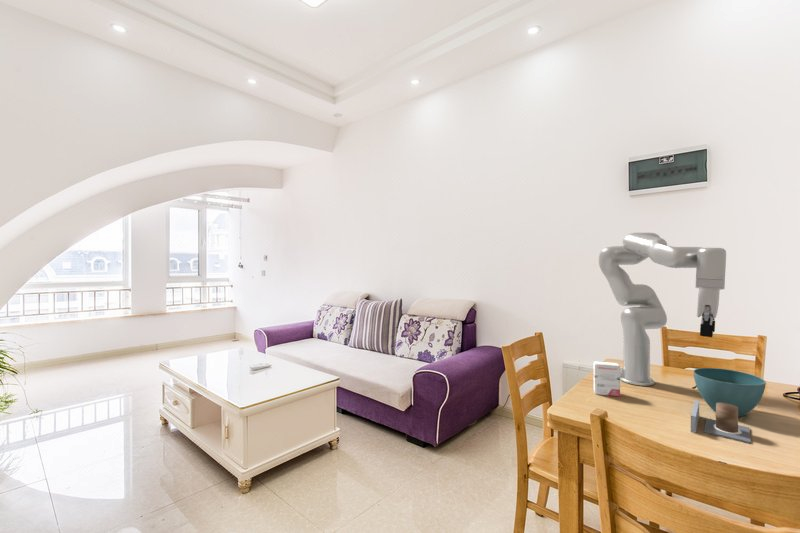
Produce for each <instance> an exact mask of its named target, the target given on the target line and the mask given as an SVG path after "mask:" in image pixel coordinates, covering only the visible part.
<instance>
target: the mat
mask: <svg viewBox="0 0 800 533" xmlns="http://www.w3.org/2000/svg"><path fill="white" fill-rule="evenodd" d="M750 432H751V431H750V427H749V426H745V425H740V424H738V432H737V433H731V432H726V431H722V430H720V429H718V428H717V427H716V419H713V418H712V419H711V418H708V417H707V418H706V419H705V426H704V434H708V435H711V434H712V435H713V436H716V437H721V438H725V439H728V438H729V439H730V440H732V439H733V440H734V441H737V442H742V443H745V444H751V443H752V441H751V439H752V438H751V433H750ZM733 440H732V441H733Z"/></svg>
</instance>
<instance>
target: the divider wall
mask: <svg viewBox="0 0 800 533" xmlns="http://www.w3.org/2000/svg"><path fill="white" fill-rule="evenodd" d="M699 419H700V400H696V399H694V401H693V405H692V409H691V412H690V433H693V434H696V433H697V430H698V423H699V421H700V420H699Z"/></svg>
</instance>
